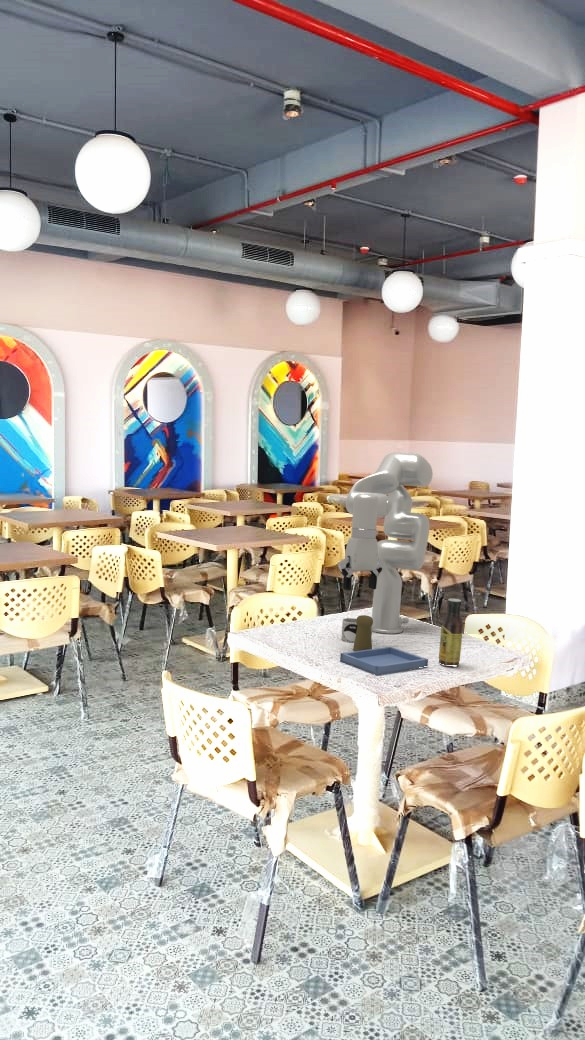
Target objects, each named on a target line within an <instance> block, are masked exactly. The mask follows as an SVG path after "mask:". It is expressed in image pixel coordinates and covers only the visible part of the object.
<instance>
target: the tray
mask: <svg viewBox="0 0 585 1040" xmlns="http://www.w3.org/2000/svg"><path fill="white" fill-rule="evenodd" d="M339 654H340V657H339V662H341V663H343V664H346V665H348V666H351V667H353V668H356V669H358V670H361V671H364V672H367V673H370V674H372V675H374V674H375V676H381V674H383V675H388V673H389V674H394V673H395V672H396V673H401V672H400V671H402V672H406V671H405V670H408V671H411V670H410V669H414V668H419V667H424V666H428V665H429V658H426V657H422V656H420V655H416V654H413V653H410V652H407V651H404V650H402V649H398V648H396V647H393V646H386V647H385V646H384V647H378V648H377V647H376V648H372V649H369V650H362V651H348V652H342V653H339ZM428 667H429V666H428ZM414 670H415V669H414Z"/></svg>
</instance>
